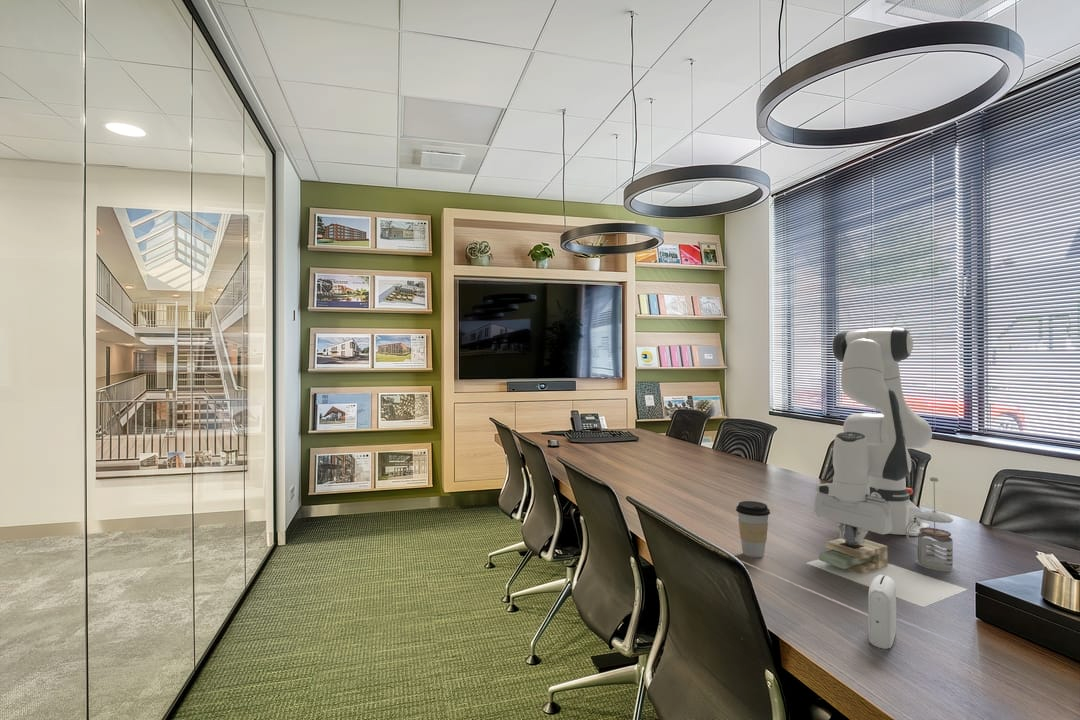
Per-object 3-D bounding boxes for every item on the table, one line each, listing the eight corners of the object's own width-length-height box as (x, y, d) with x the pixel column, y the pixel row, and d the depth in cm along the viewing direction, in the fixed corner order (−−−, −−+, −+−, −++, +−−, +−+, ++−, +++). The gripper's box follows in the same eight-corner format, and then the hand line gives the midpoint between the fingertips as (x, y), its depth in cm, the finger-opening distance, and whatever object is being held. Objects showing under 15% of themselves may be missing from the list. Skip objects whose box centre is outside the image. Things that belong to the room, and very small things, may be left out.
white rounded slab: (892, 652, 103) (891, 589, 103) (866, 644, 106) (866, 583, 106) (898, 631, 111) (897, 573, 111) (874, 624, 114) (873, 568, 114)
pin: (849, 556, 147) (849, 521, 147) (860, 560, 145) (859, 524, 145) (843, 558, 146) (842, 522, 146) (853, 562, 143) (853, 525, 143)
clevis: (851, 554, 154) (851, 535, 154) (887, 565, 145) (887, 546, 145) (814, 564, 146) (814, 545, 146) (849, 577, 137) (849, 556, 137)
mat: (849, 552, 156) (849, 550, 156) (968, 591, 129) (968, 589, 129) (805, 564, 147) (805, 562, 147) (923, 609, 120) (923, 607, 120)
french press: (964, 575, 139) (962, 481, 139) (912, 569, 143) (911, 478, 143) (949, 562, 148) (948, 474, 148) (901, 557, 152) (900, 471, 152)
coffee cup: (755, 563, 148) (754, 510, 148) (729, 552, 157) (728, 502, 157) (777, 557, 153) (777, 506, 153) (751, 547, 161) (750, 498, 161)
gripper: (897, 498, 138) (897, 550, 138) (824, 482, 156) (824, 528, 156) (883, 501, 135) (883, 555, 135) (810, 485, 153) (811, 532, 153)
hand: (851, 540), depth 145 cm, fingers closed on pin, 3 cm apart
